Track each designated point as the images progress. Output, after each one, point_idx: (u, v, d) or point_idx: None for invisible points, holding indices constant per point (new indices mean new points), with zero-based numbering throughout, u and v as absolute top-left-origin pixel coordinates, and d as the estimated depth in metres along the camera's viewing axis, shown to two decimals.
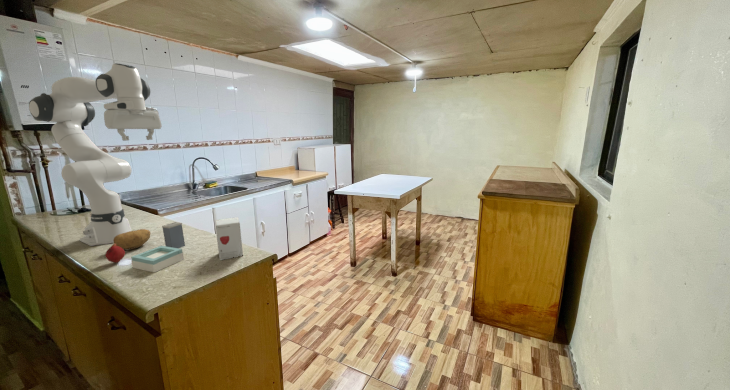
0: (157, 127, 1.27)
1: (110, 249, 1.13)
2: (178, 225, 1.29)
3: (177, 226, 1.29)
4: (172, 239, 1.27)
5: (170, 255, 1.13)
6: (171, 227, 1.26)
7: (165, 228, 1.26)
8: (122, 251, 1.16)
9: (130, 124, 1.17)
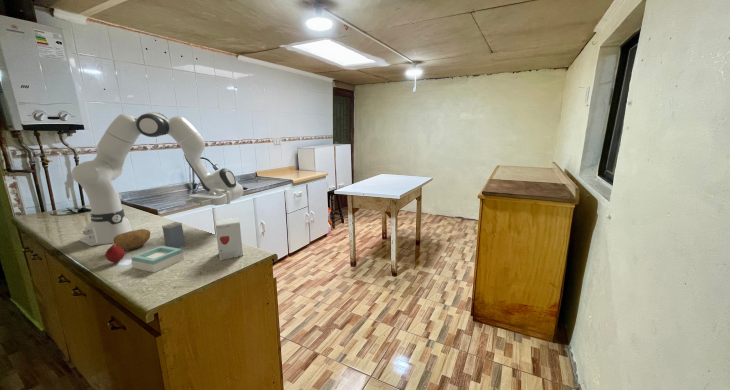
0: (192, 202, 1.46)
1: (110, 249, 1.13)
2: (178, 225, 1.29)
3: (177, 226, 1.29)
4: (172, 239, 1.27)
5: (170, 255, 1.13)
6: (171, 227, 1.26)
7: (165, 228, 1.26)
8: (122, 251, 1.16)
9: None
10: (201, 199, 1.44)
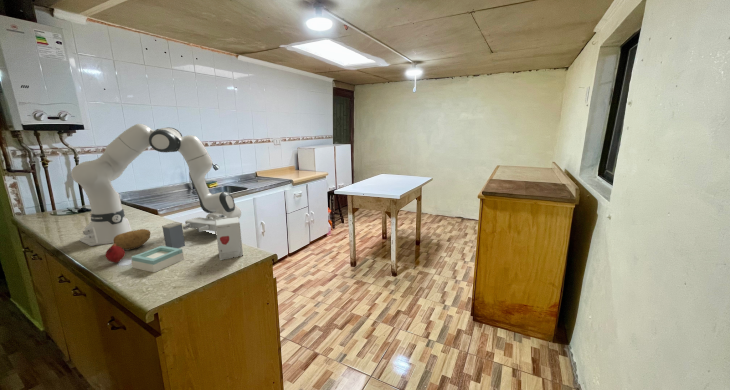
0: None
1: (110, 249, 1.13)
2: (178, 225, 1.29)
3: (177, 226, 1.29)
4: (172, 239, 1.27)
5: (170, 255, 1.13)
6: (171, 227, 1.26)
7: (165, 228, 1.26)
8: (122, 251, 1.16)
9: None
10: (198, 224, 1.43)
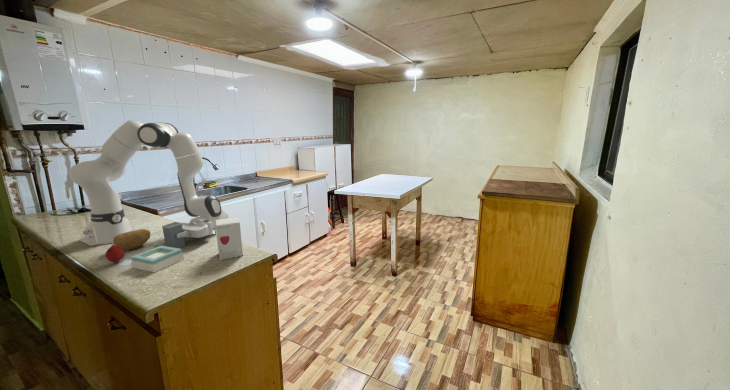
0: None
1: (110, 249, 1.13)
2: (178, 225, 1.29)
3: (177, 226, 1.29)
4: (172, 239, 1.27)
5: (170, 255, 1.13)
6: (171, 227, 1.26)
7: (165, 228, 1.26)
8: (122, 251, 1.16)
9: None
10: None
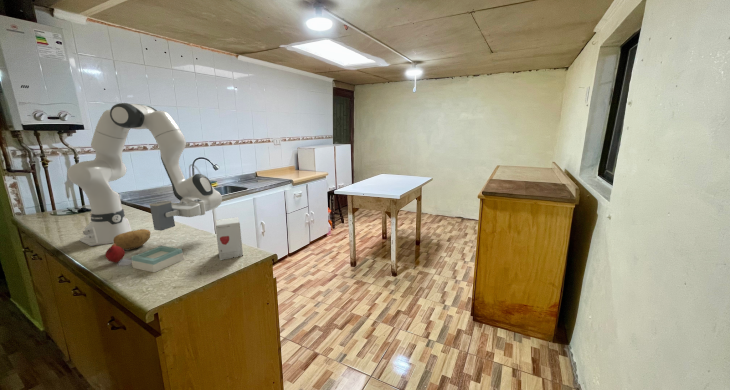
0: None
1: (110, 249, 1.13)
2: (167, 203, 1.19)
3: (166, 204, 1.19)
4: (161, 218, 1.17)
5: (170, 255, 1.13)
6: (159, 205, 1.16)
7: (153, 206, 1.16)
8: (122, 251, 1.16)
9: None
10: None
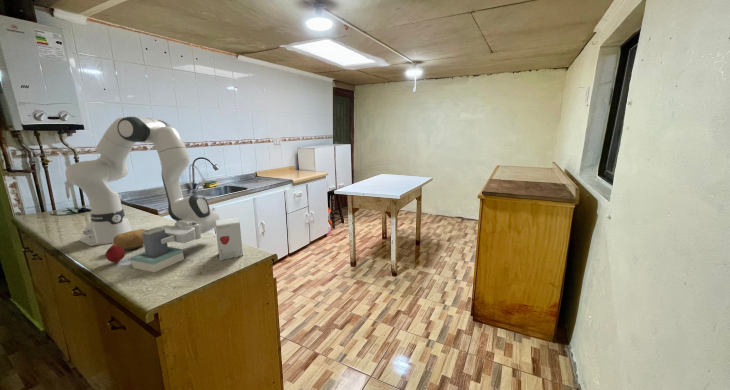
0: None
1: (110, 249, 1.13)
2: (160, 231, 1.13)
3: (159, 232, 1.13)
4: (153, 247, 1.11)
5: (170, 255, 1.13)
6: (152, 233, 1.10)
7: (145, 234, 1.10)
8: (122, 251, 1.16)
9: None
10: None
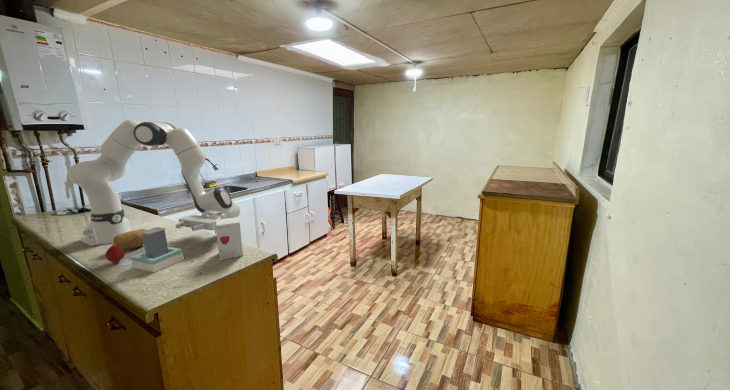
0: None
1: (110, 249, 1.13)
2: (160, 231, 1.13)
3: (159, 232, 1.13)
4: (153, 247, 1.11)
5: (170, 255, 1.13)
6: (152, 233, 1.10)
7: (145, 234, 1.10)
8: (122, 251, 1.16)
9: None
10: (193, 223, 1.30)
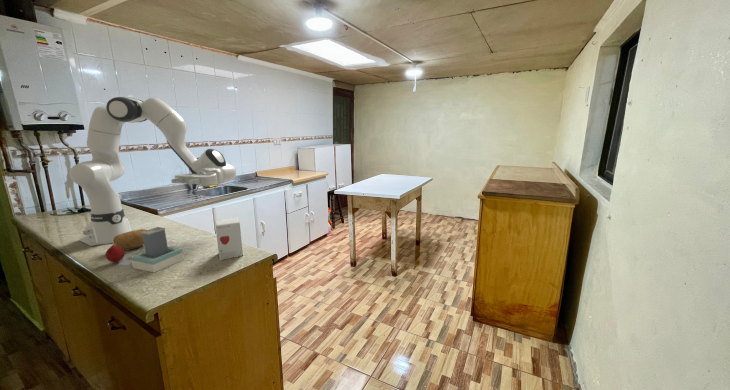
0: (179, 182, 1.34)
1: (110, 249, 1.13)
2: (160, 231, 1.13)
3: (159, 232, 1.13)
4: (153, 247, 1.11)
5: (170, 255, 1.13)
6: (152, 233, 1.10)
7: (145, 234, 1.10)
8: (122, 251, 1.16)
9: None
10: (189, 179, 1.31)
